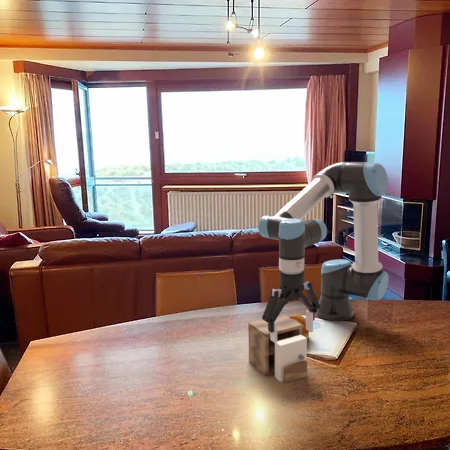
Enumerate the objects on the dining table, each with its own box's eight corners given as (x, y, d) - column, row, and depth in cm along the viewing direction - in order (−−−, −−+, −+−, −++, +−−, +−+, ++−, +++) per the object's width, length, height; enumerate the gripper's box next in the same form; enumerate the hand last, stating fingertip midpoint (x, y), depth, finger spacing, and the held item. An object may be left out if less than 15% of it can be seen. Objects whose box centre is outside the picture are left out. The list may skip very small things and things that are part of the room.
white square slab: (274, 377, 139) (274, 341, 137) (300, 369, 144) (300, 334, 141) (282, 383, 136) (282, 347, 133) (308, 375, 140) (309, 339, 138)
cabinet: (248, 361, 149) (248, 322, 147) (283, 351, 156) (283, 313, 153) (277, 385, 134) (278, 342, 132) (314, 373, 141) (315, 332, 138)
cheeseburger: (308, 331, 171) (310, 309, 167) (310, 349, 162) (312, 327, 157) (282, 330, 172) (282, 308, 168) (282, 348, 163) (283, 326, 158)
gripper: (263, 281, 125) (264, 351, 129) (332, 266, 136) (331, 330, 140) (249, 274, 131) (251, 340, 136) (316, 260, 142) (315, 322, 147)
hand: (291, 335), depth 138 cm, fingers open, 13 cm apart
